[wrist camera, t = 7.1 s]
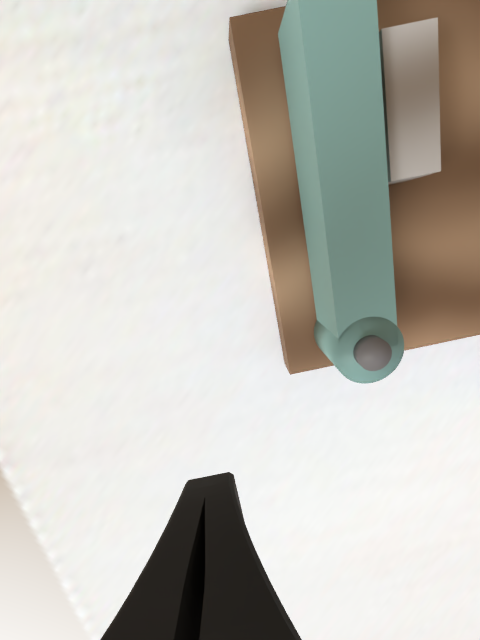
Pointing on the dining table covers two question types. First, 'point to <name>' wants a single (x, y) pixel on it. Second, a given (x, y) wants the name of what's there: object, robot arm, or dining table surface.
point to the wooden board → (402, 165)
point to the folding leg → (343, 180)
